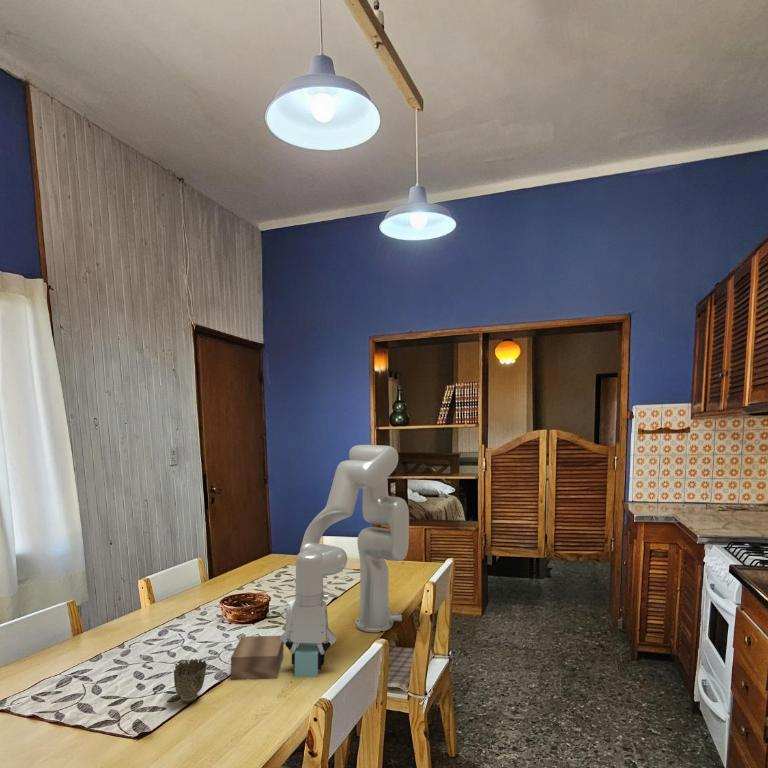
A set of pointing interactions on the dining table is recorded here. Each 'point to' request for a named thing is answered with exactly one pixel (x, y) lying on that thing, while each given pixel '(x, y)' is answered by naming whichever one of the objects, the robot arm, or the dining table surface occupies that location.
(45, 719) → the dining table surface
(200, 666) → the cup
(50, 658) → the dining table surface
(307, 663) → the teal cube
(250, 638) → the walnut block
